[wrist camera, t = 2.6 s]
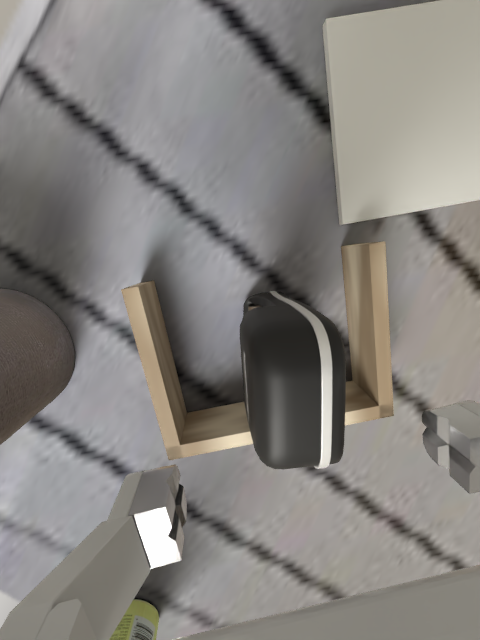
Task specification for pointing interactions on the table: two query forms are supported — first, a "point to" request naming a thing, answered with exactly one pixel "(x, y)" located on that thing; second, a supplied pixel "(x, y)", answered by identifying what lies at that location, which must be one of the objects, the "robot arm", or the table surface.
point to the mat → (404, 108)
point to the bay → (231, 420)
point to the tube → (138, 622)
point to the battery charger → (292, 382)
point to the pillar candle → (30, 359)
